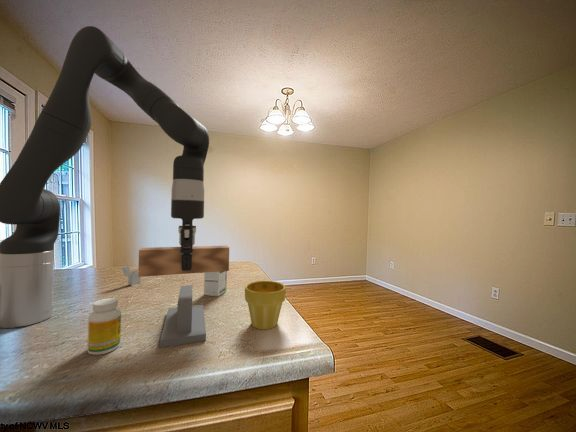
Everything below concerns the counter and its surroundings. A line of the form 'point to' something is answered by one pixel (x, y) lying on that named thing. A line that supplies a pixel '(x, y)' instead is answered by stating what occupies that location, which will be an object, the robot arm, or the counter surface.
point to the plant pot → (264, 302)
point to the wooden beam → (171, 260)
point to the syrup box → (215, 283)
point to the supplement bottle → (104, 327)
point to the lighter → (131, 275)
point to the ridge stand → (184, 321)
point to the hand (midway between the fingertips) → (186, 267)
